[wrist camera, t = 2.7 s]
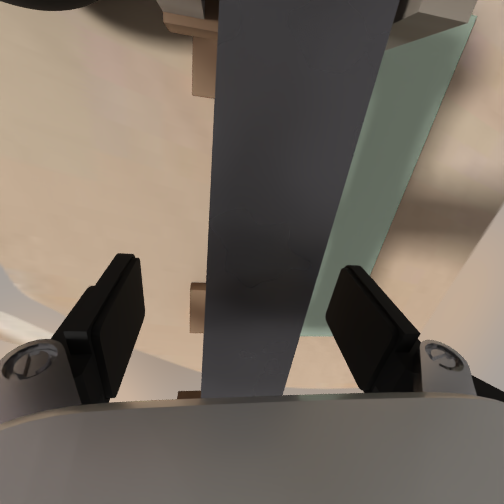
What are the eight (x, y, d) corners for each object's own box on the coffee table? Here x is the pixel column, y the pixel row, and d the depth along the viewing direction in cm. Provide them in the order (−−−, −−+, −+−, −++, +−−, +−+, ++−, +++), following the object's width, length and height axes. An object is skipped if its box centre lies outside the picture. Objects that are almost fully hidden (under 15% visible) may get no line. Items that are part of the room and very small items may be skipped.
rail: (232, -219, 5) (246, -594, 2) (377, -170, 5) (528, -433, 3) (199, 441, 16) (195, 504, 14) (246, 438, 17) (251, 499, 14)
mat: (345, -11, 14) (348, -14, 14) (471, 17, 15) (477, 16, 15) (270, 333, 26) (271, 336, 26) (343, 333, 28) (344, 336, 27)
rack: (195, -18, 13) (59, -696, 2) (306, 6, 14) (635, -371, 3) (190, 325, 25) (166, 507, 14) (252, 325, 26) (277, 497, 14)
